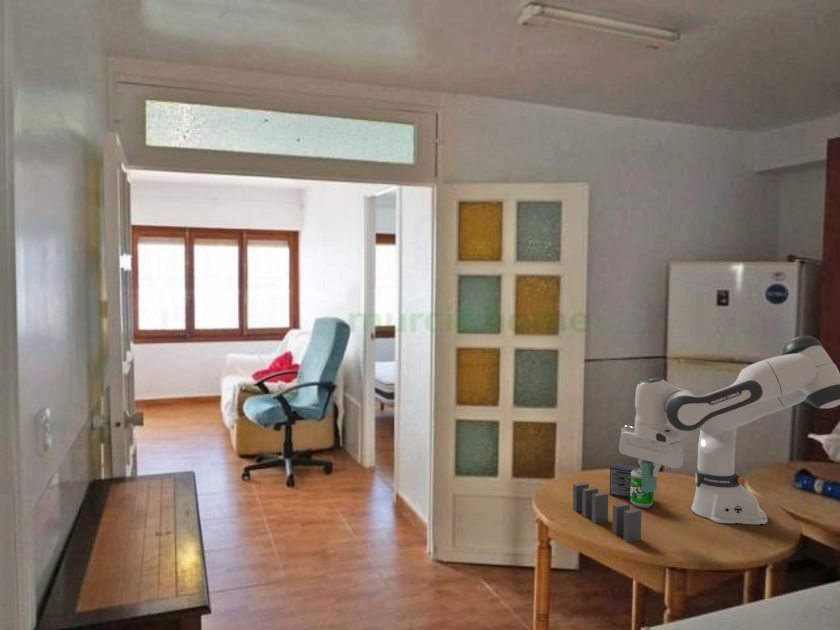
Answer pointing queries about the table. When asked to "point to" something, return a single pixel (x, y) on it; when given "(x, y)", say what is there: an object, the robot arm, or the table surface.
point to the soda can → (639, 491)
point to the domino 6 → (648, 477)
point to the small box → (621, 480)
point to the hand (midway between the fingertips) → (649, 474)
